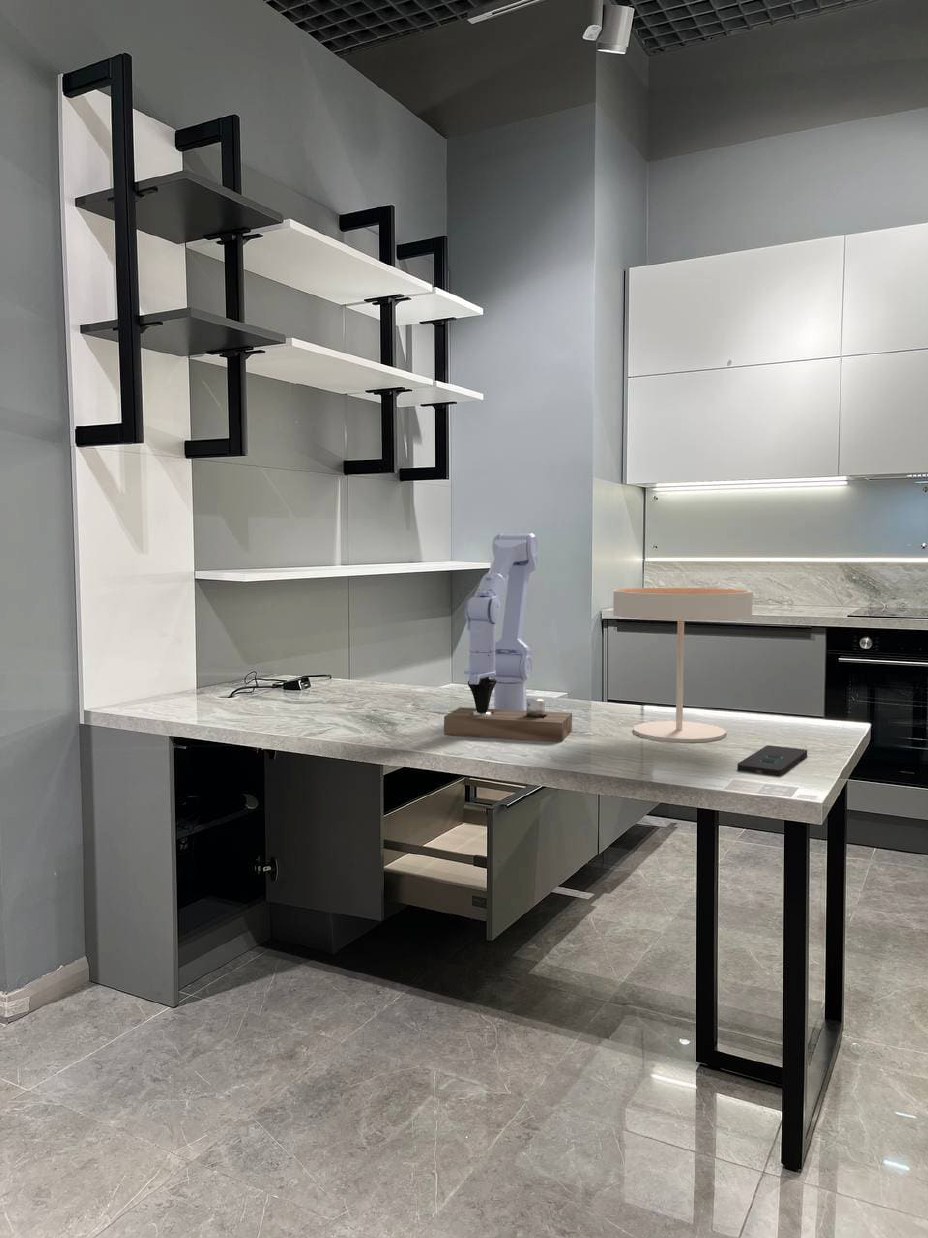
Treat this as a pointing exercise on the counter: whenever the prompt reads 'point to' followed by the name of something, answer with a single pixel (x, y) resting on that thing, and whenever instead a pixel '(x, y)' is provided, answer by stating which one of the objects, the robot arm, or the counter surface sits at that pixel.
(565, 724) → the wooden peg board
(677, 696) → the desk lamp
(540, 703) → the peg
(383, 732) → the counter surface
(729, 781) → the counter surface
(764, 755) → the smart home device
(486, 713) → the peg
